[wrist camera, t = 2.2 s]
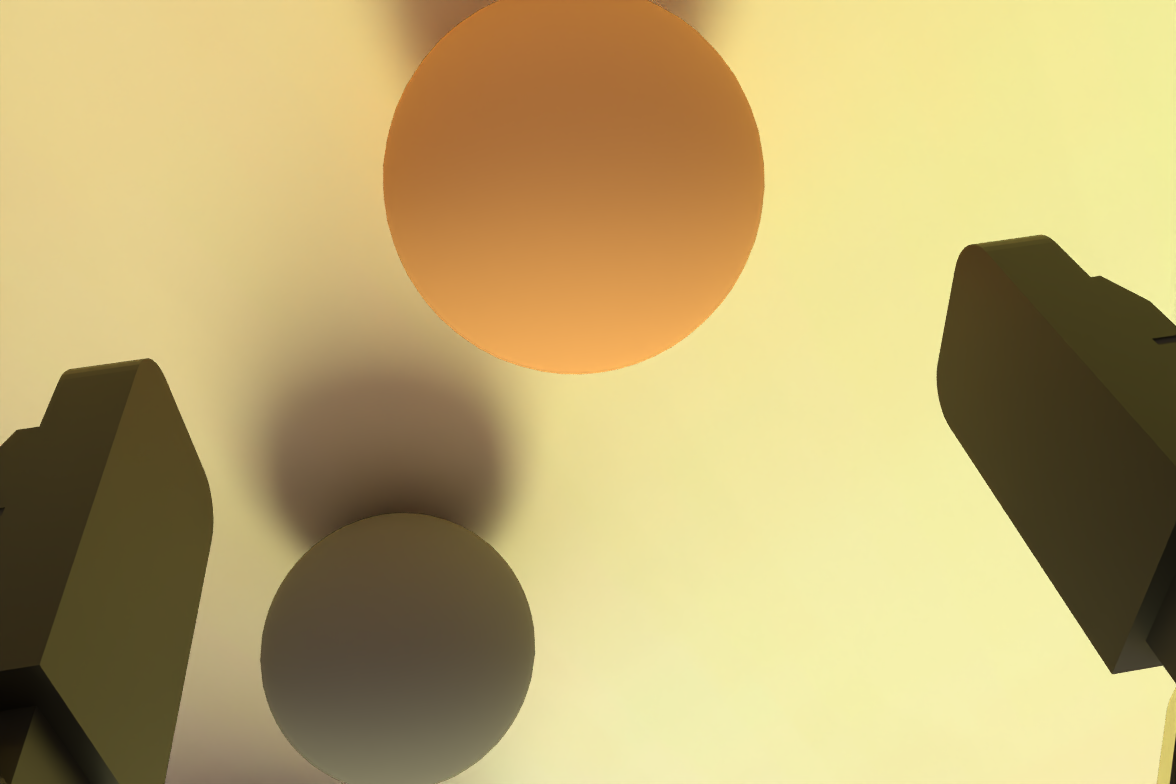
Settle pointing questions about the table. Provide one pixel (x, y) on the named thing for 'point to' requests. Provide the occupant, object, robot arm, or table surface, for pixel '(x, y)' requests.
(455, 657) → the charcoal ball
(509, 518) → the table surface
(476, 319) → the orange ball
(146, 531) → the robot arm
